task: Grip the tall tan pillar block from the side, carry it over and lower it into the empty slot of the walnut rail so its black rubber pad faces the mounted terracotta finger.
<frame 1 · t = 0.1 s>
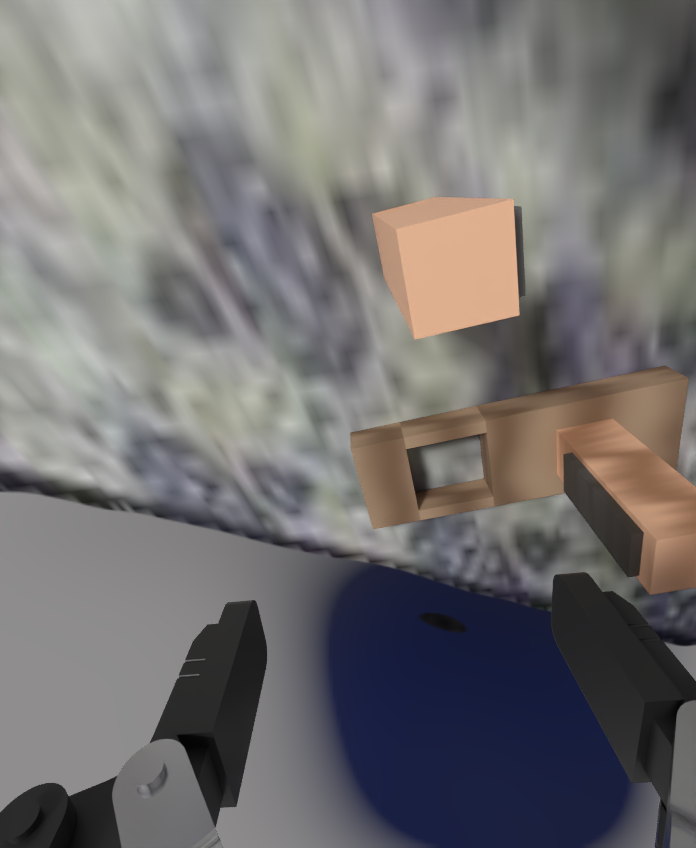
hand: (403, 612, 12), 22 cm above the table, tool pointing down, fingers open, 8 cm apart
tall tan pillar block: (408, 239, 28), on the table
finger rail: (505, 444, 35), on the table
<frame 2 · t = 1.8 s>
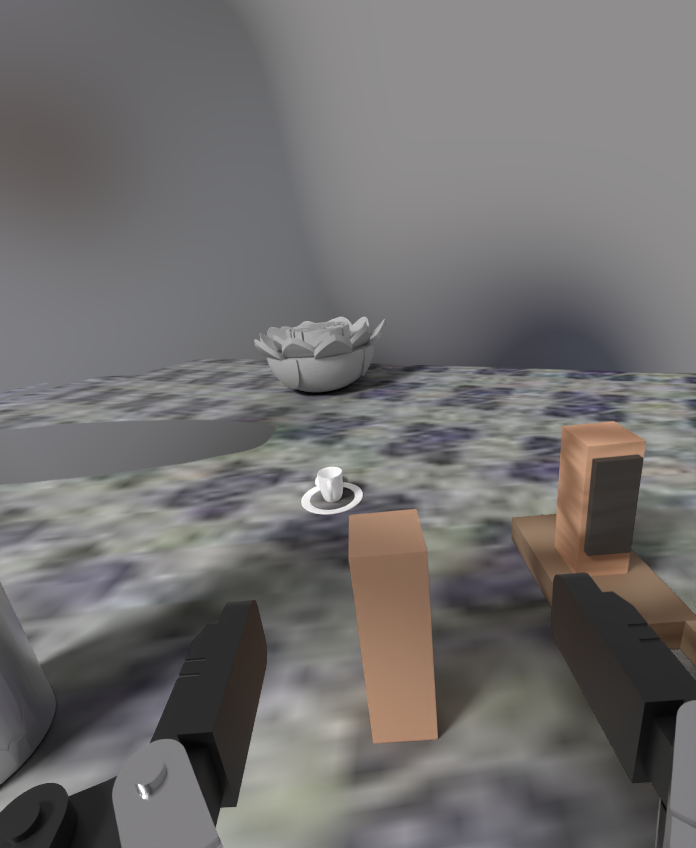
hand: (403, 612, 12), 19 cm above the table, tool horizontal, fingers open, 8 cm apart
tall tan pillar block: (402, 710, 29), on the table
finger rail: (620, 629, 33), on the table
decorative bowl: (322, 387, 107), on the table
teacup and saucer: (351, 493, 58), on the table
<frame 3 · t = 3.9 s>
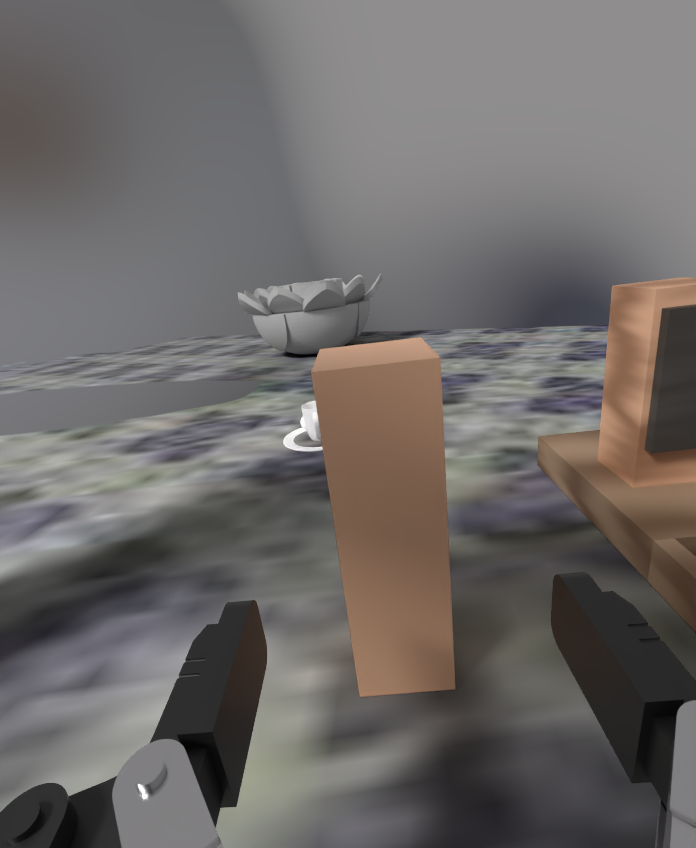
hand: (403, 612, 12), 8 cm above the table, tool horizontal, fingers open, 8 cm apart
tall tan pillar block: (402, 653, 20), on the table
decorative bowl: (314, 351, 99), on the table
teacup and saucer: (343, 433, 49), on the table
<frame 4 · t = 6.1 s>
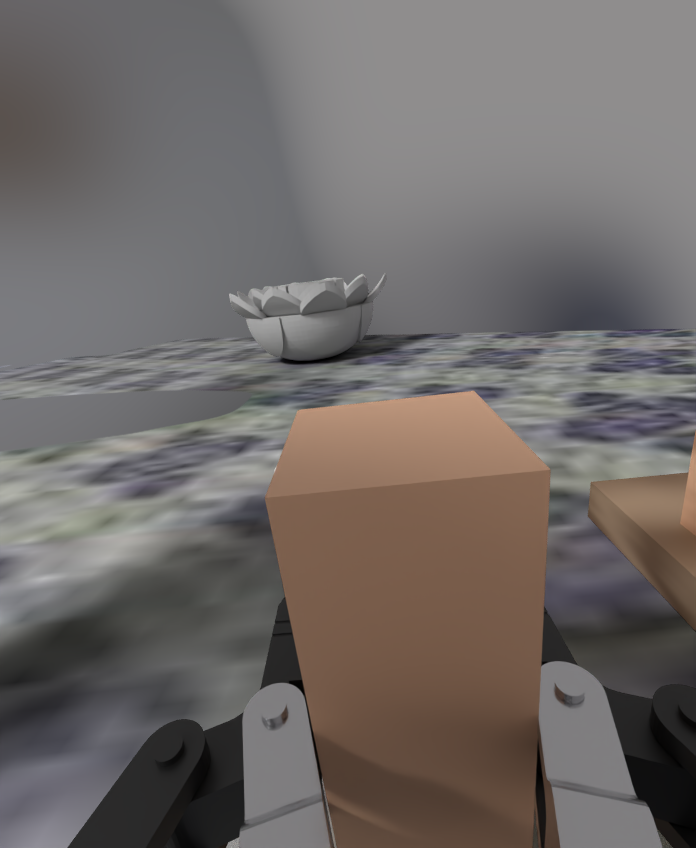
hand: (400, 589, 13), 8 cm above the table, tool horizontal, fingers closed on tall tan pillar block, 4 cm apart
decorative bowl: (313, 357, 91), on the table
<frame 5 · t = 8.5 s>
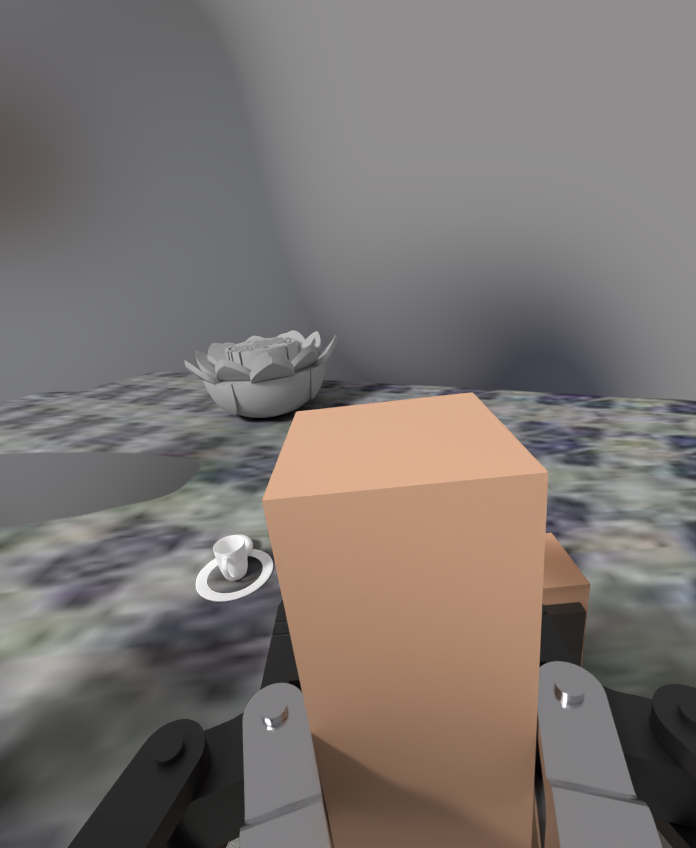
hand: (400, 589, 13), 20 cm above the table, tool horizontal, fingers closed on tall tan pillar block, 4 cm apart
decorative bowl: (270, 411, 96), on the table
teacup and saucer: (262, 564, 47), on the table
when the fingers open (9 cm above the table, at t = 11.1 s): tall tan pillar block stays where it is, resting in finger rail.
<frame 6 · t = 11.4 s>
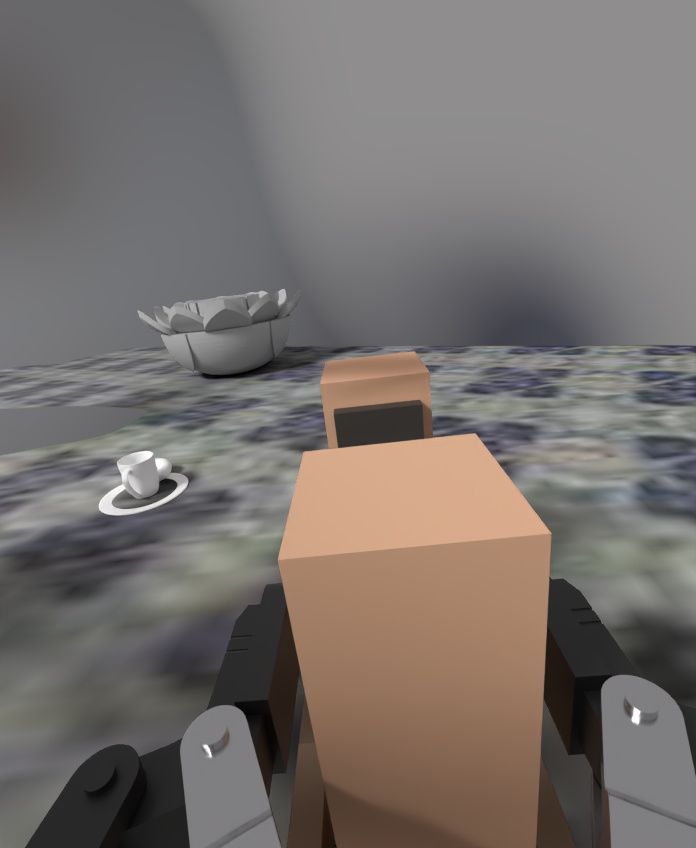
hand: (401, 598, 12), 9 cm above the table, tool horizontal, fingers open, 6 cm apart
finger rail: (410, 728, 18), on the table
decorative bowl: (234, 371, 93), on the table
teacup and saucer: (179, 487, 43), on the table
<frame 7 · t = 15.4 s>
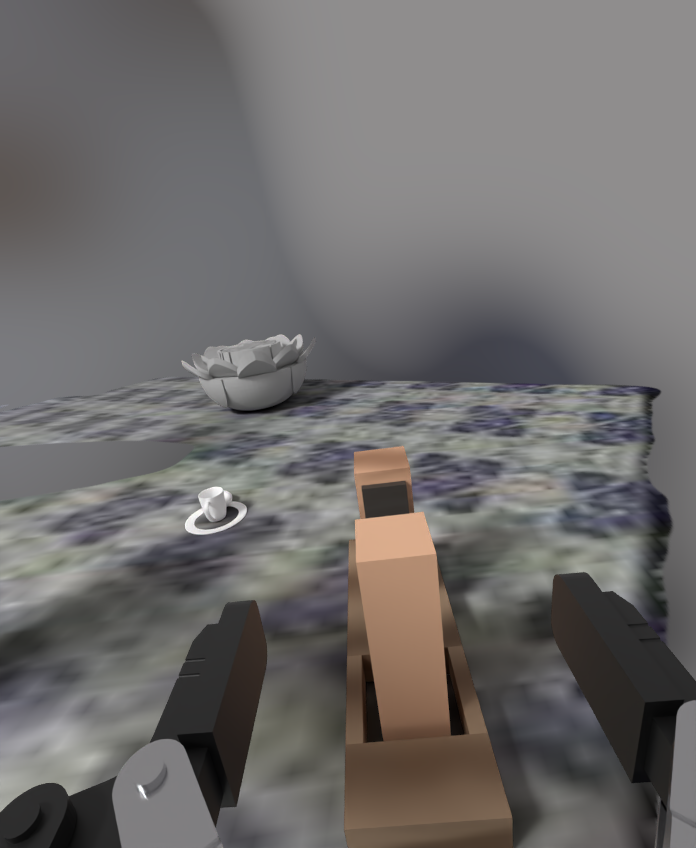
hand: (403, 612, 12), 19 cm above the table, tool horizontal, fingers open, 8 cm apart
tall tan pillar block: (414, 720, 28), resting in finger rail
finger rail: (404, 654, 33), on the table
decorative bowl: (258, 405, 108), on the table
teacup and saucer: (239, 512, 59), on the table
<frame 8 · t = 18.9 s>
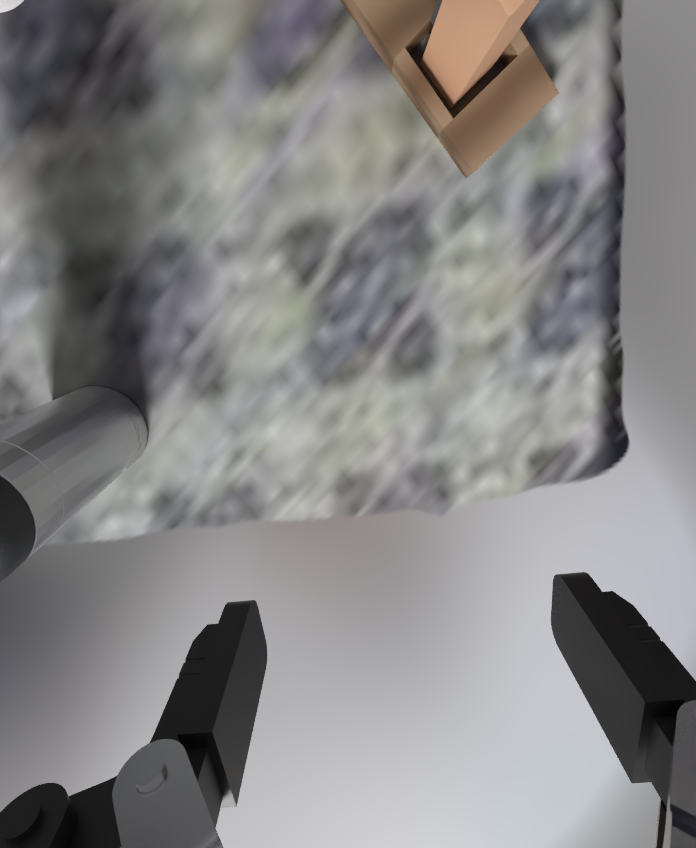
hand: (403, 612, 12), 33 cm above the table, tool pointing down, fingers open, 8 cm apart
tall tan pillar block: (455, 66, 35), resting in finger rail
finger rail: (414, 6, 33), on the table
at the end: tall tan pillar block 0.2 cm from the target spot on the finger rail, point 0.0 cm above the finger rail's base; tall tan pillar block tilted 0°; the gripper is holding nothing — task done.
